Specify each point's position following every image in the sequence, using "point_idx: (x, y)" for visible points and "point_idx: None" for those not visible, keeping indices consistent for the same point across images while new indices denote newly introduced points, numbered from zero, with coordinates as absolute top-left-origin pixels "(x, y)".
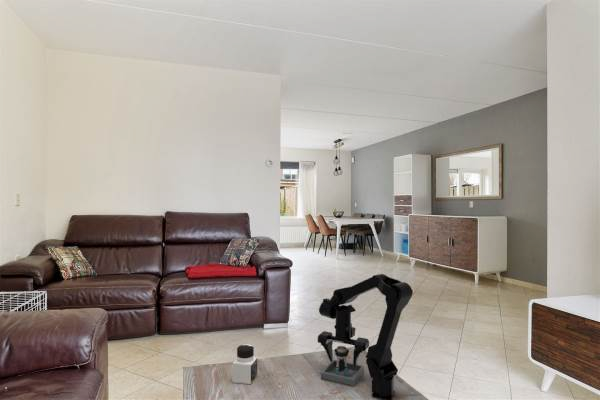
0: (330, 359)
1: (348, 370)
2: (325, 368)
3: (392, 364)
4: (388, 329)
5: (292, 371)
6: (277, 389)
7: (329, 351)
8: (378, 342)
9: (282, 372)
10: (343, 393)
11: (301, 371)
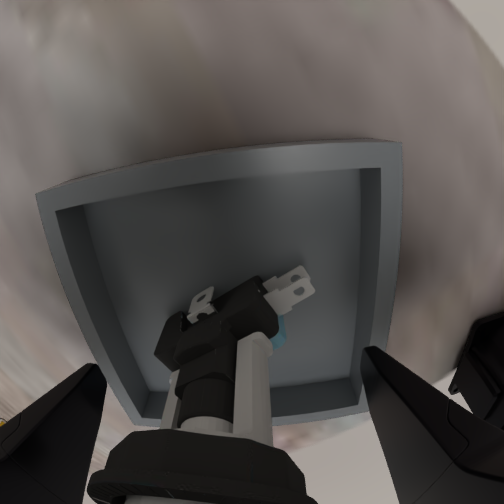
0: (98, 406)
1: (277, 304)
2: (111, 380)
3: None
4: None
5: (10, 367)
6: (103, 469)
7: (79, 488)
8: None
9: (5, 385)
10: (324, 435)
11: (24, 355)
